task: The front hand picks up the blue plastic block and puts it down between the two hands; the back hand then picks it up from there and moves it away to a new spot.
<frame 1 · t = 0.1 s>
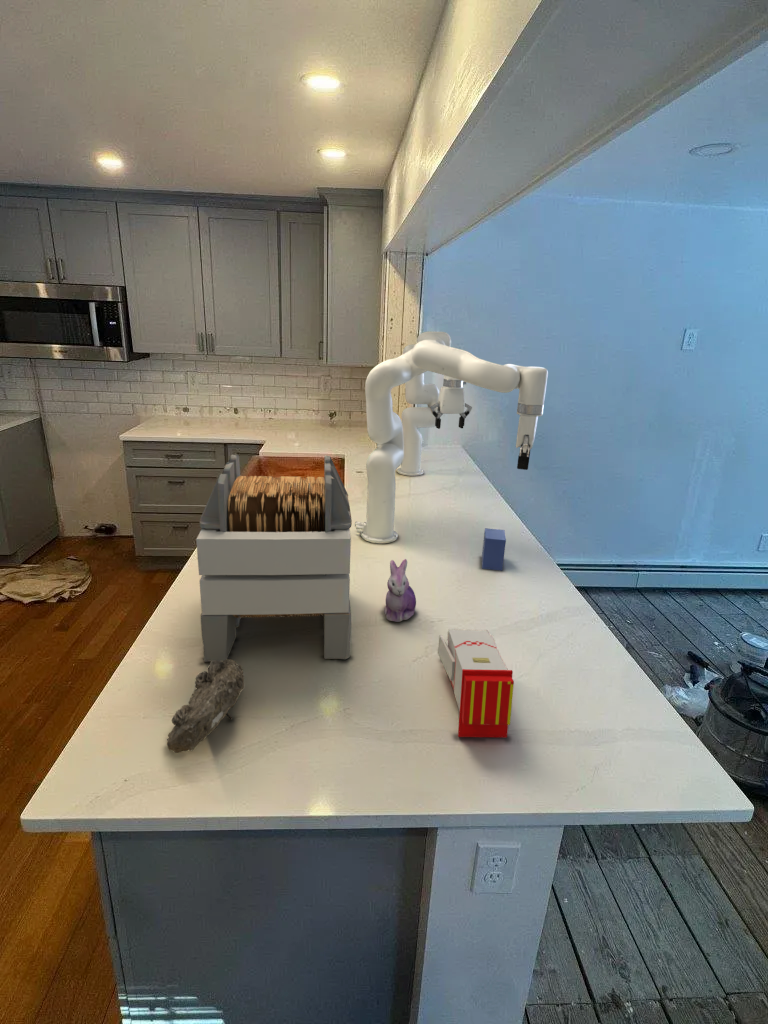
front hand: (523, 465, 174), 31 cm above the counter, tool pointing down, fingers open, 9 cm apart
back hand: (449, 427, 224), 31 cm above the counter, tool pointing down, fingers open, 9 cm apart
fossil: (212, 717, 108), on the counter
figurine: (399, 614, 147), on the counter
record crate: (281, 622, 141), on the counter
toy: (469, 691, 119), on the counter
block: (491, 563, 180), on the counter
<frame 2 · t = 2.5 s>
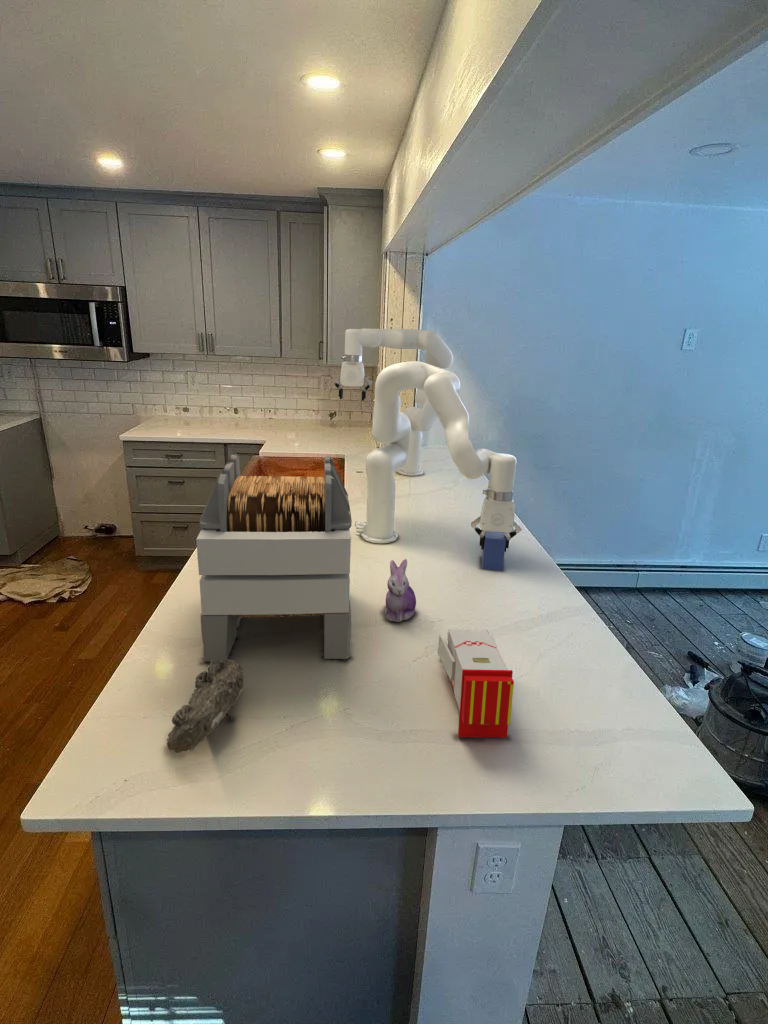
front hand: (493, 548, 178), 5 cm above the counter, tool pointing down, fingers closed on block, 6 cm apart
back hand: (352, 399, 248), 36 cm above the counter, tool pointing down, fingers open, 9 cm apart
block: (491, 563, 180), on the counter, touching front hand
everything else where it was.
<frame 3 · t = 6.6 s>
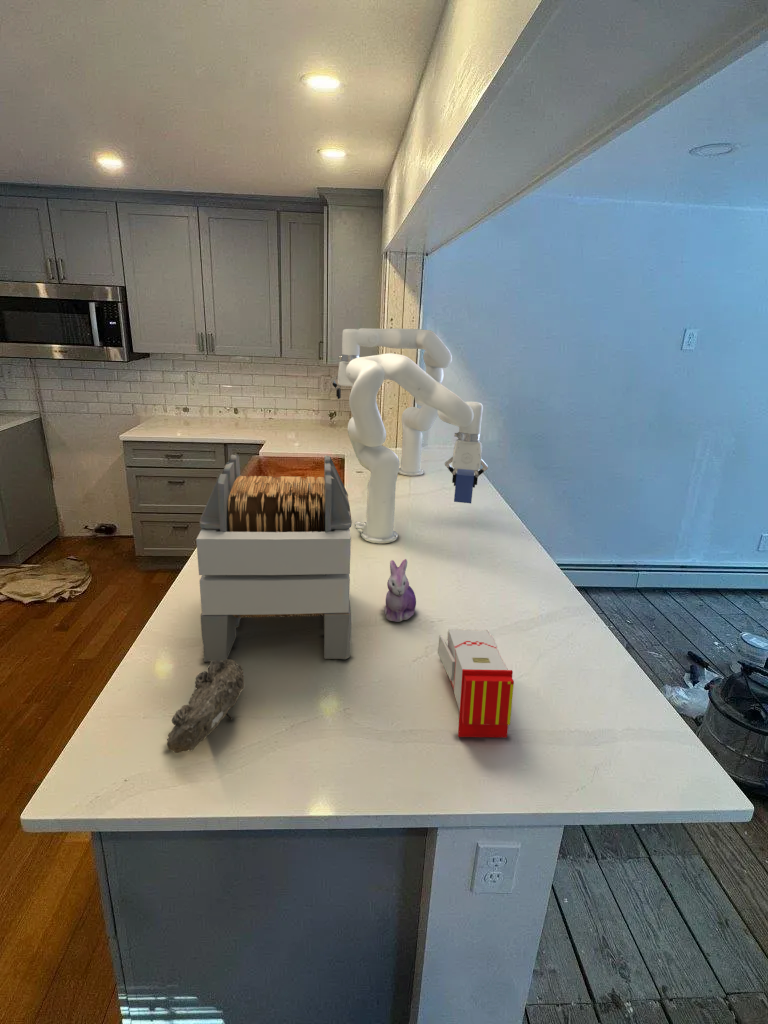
front hand: (464, 485, 206), 15 cm above the counter, tool pointing down, fingers closed on block, 6 cm apart
back hand: (349, 399, 249), 36 cm above the counter, tool pointing down, fingers open, 9 cm apart
block: (463, 498, 208), point 10 cm above the counter, touching front hand
everything else where it was.
when the front hand's fingers open (6 cm above the counter, at t = 10.5 s): block drops 1 cm, on the counter.
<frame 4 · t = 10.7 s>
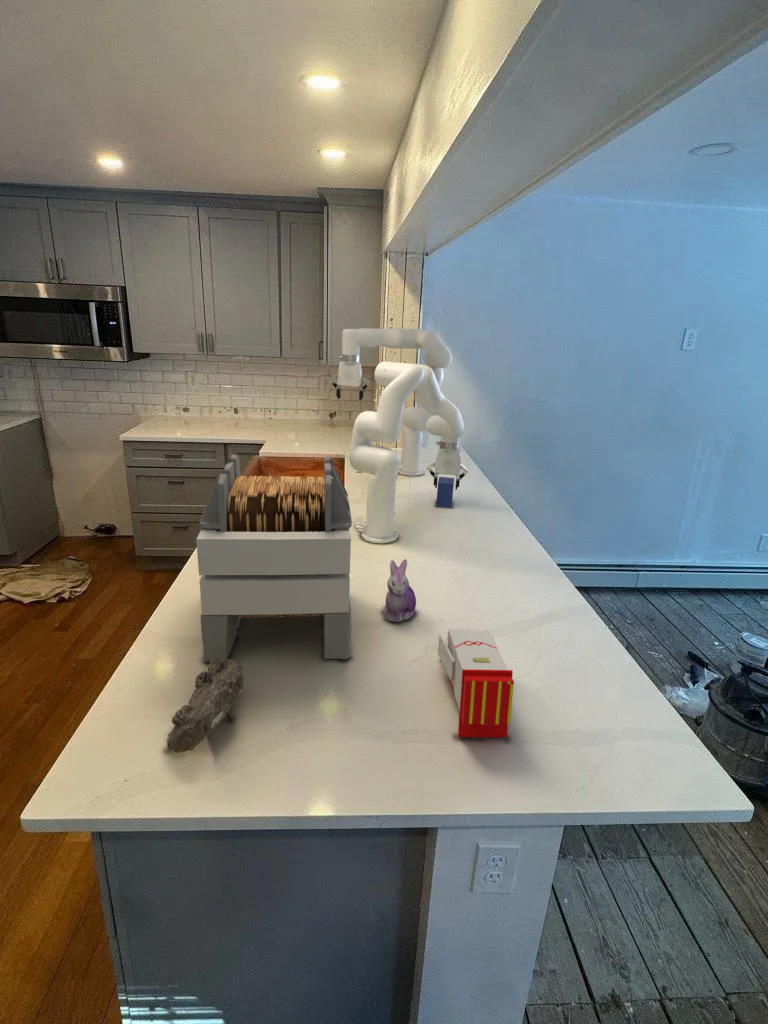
front hand: (446, 487, 231), 7 cm above the counter, tool pointing down, fingers open, 7 cm apart
back hand: (349, 399, 249), 36 cm above the counter, tool pointing down, fingers open, 9 cm apart
block: (444, 504, 233), on the counter
everything else where it was.
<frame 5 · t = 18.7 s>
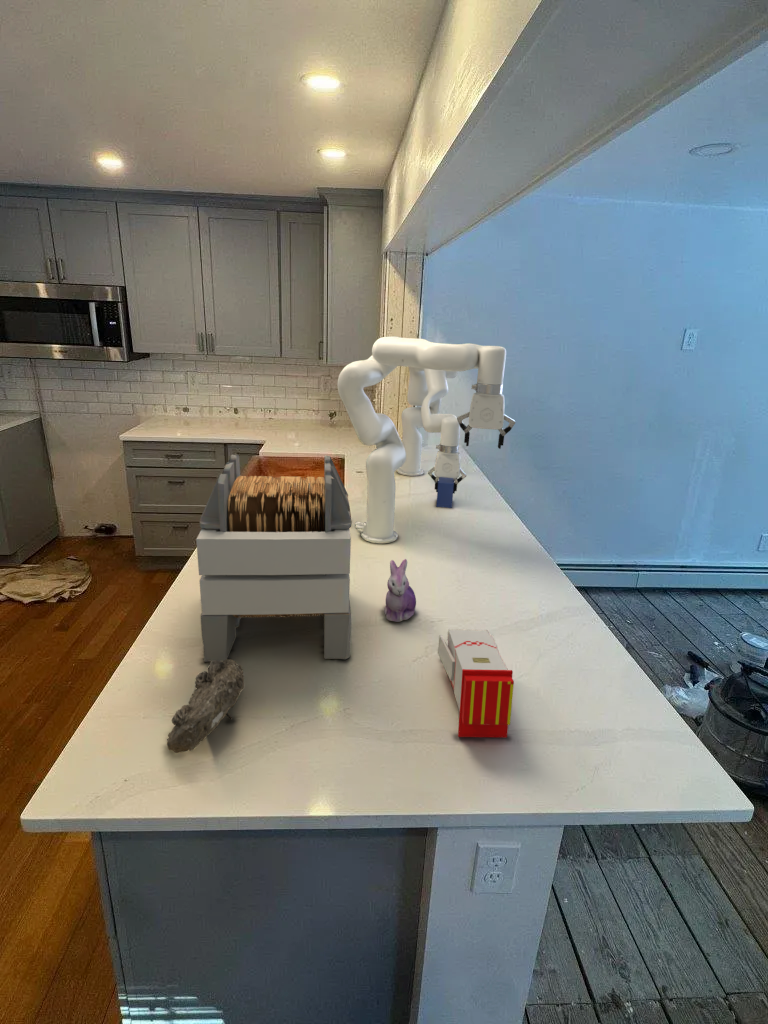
front hand: (483, 446, 172), 36 cm above the counter, tool pointing down, fingers open, 9 cm apart
back hand: (445, 491, 231), 5 cm above the counter, tool pointing down, fingers closed on block, 6 cm apart
block: (444, 504, 233), on the counter, touching back hand
everything else where it was.
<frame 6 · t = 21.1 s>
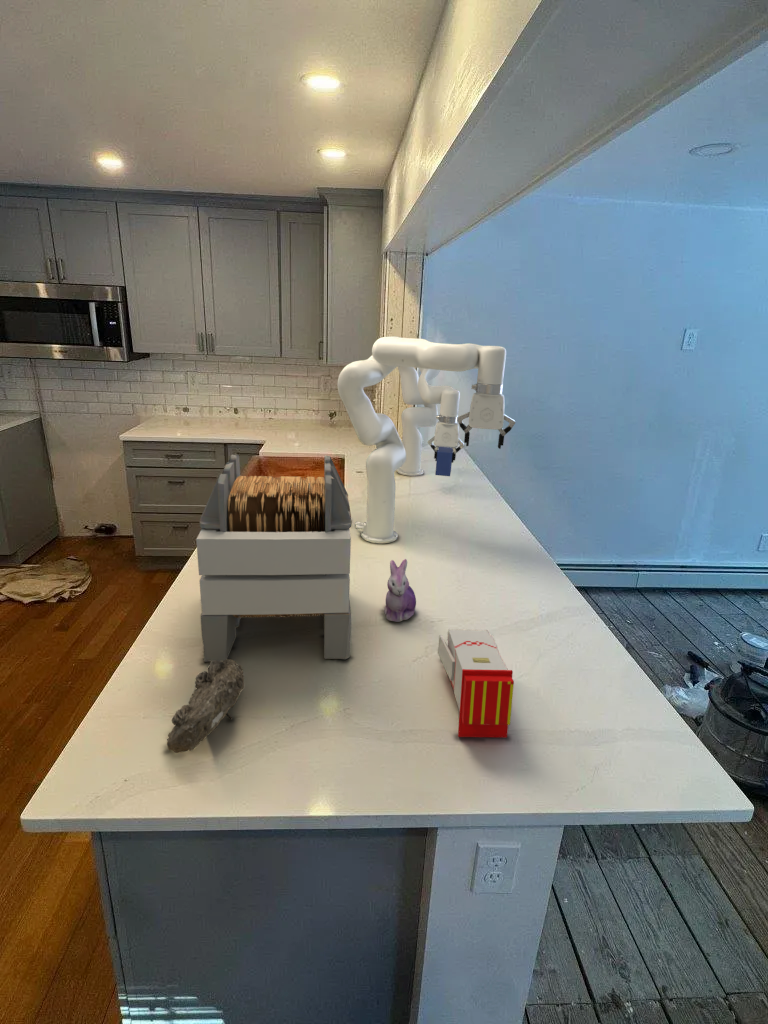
front hand: (483, 446, 172), 36 cm above the counter, tool pointing down, fingers open, 9 cm apart
back hand: (444, 460, 242), 15 cm above the counter, tool pointing down, fingers closed on block, 6 cm apart
block: (443, 472, 243), point 9 cm above the counter, touching back hand
everything else where it was.
when the back hand's fingers open (6 cm above the counter, at t = 23.4 s): block drops 1 cm, on the counter.
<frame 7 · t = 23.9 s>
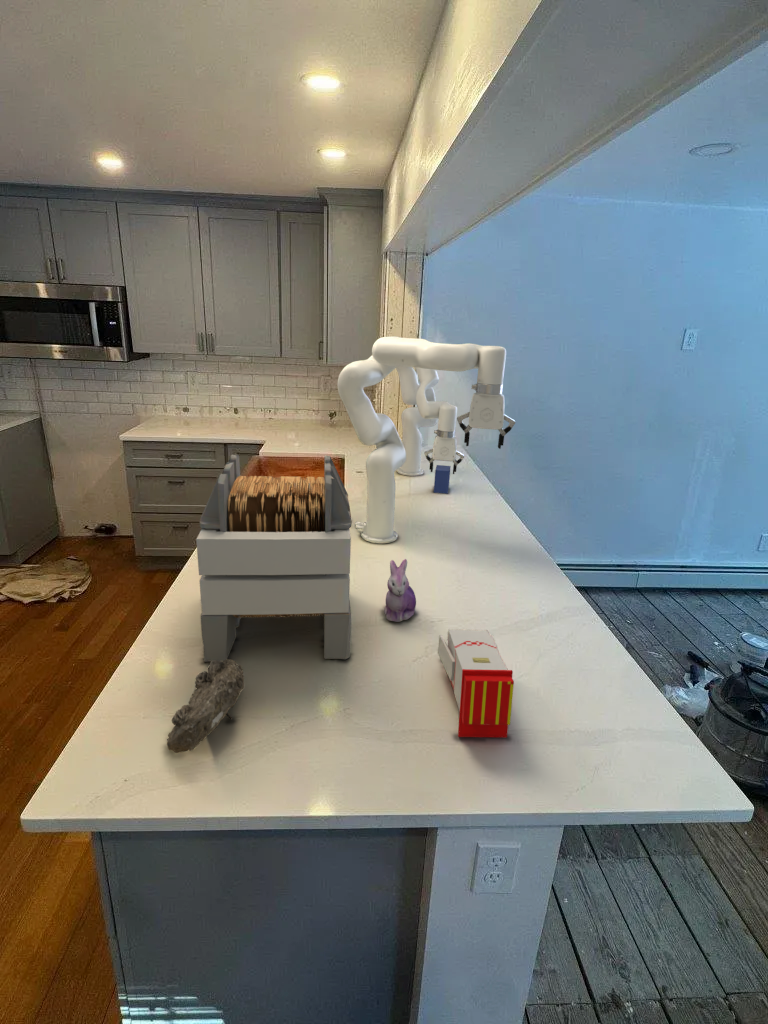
front hand: (483, 446, 172), 36 cm above the counter, tool pointing down, fingers open, 9 cm apart
back hand: (442, 472, 248), 8 cm above the counter, tool pointing down, fingers open, 9 cm apart
block: (441, 490, 251), on the counter
everything else where it was.
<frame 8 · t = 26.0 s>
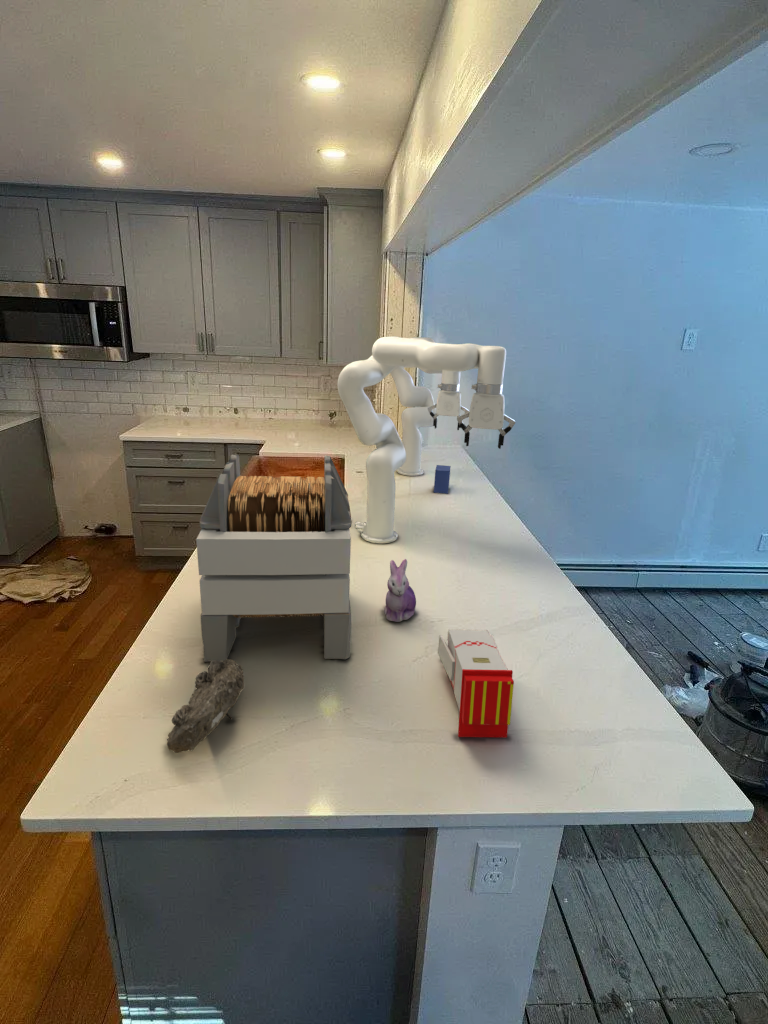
front hand: (483, 446, 172), 36 cm above the counter, tool pointing down, fingers open, 9 cm apart
back hand: (446, 428, 241), 27 cm above the counter, tool pointing down, fingers open, 9 cm apart
nothing on the counter moved.
at the end: block inside the target area (0.2 cm from its centre), on the counter; block tilted 0°; the two hands never held the block at the same time; the front hand is holding nothing; the back hand is holding nothing; block at rest at the end (0.0 cm/s) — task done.
